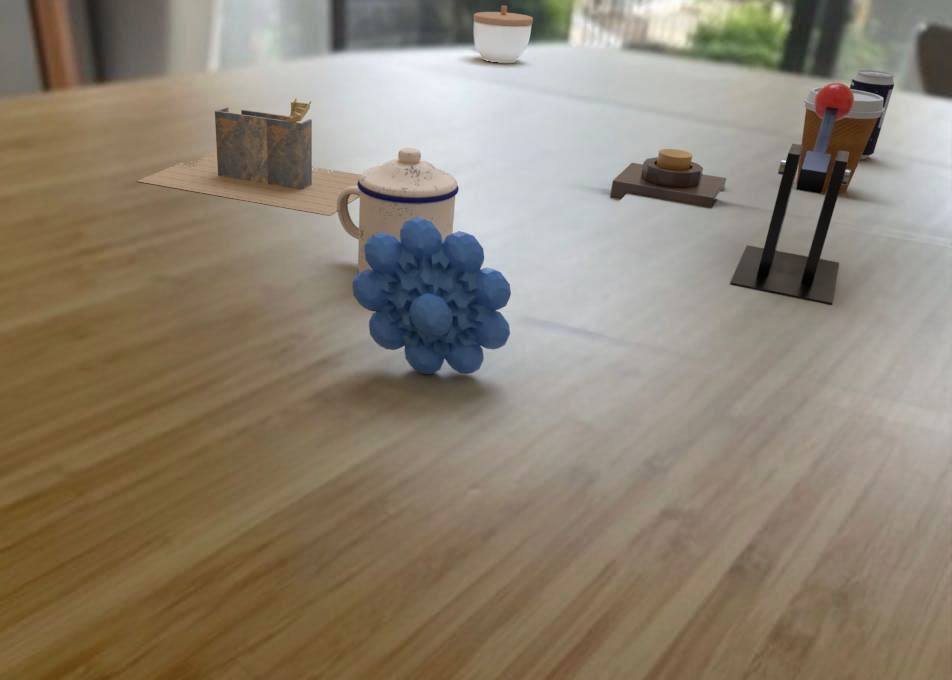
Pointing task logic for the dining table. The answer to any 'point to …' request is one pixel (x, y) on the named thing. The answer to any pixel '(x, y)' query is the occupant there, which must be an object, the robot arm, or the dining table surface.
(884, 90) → the beverage can
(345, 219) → the teacup with lid
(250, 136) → the architectural model on board
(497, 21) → the lidded bowl
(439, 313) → the blue flower ornament
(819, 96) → the power lever
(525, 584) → the dining table surface
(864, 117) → the disposable coffee cup
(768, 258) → the stand
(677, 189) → the brown lamp base
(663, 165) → the button
